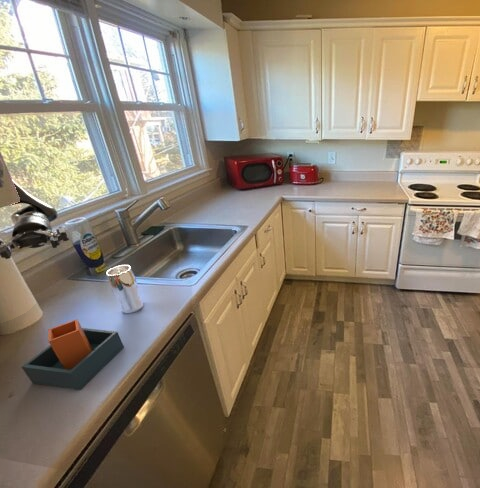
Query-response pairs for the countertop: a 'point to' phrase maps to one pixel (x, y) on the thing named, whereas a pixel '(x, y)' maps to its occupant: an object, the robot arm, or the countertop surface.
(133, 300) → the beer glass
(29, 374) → the big bin
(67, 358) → the small bin
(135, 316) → the countertop surface
